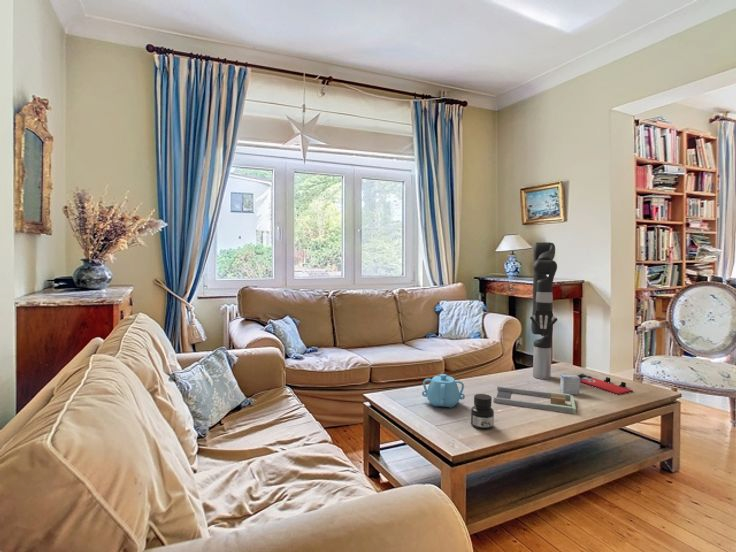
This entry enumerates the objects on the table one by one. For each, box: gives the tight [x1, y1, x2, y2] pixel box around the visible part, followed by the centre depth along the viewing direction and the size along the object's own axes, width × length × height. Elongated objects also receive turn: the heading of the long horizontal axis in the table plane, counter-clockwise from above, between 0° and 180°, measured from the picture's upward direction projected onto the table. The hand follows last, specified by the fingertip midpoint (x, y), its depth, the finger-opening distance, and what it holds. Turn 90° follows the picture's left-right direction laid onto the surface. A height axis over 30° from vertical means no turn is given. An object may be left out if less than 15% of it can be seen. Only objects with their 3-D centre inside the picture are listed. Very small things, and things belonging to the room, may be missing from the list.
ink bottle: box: [470, 393, 495, 431], centre depth 168 cm, size 10×9×12 cm
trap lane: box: [493, 385, 577, 415], centre depth 196 cm, size 19×34×2 cm, turn 67°
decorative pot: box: [421, 373, 466, 408], centre depth 192 cm, size 16×16×14 cm
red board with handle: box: [576, 373, 634, 396], centre depth 221 cm, size 30×3×15 cm
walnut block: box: [550, 393, 566, 406], centre depth 192 cm, size 6×6×4 cm
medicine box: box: [559, 374, 581, 395], centre depth 207 cm, size 8×4×9 cm, turn 84°
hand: (543, 336), depth 204 cm, fingers closed
